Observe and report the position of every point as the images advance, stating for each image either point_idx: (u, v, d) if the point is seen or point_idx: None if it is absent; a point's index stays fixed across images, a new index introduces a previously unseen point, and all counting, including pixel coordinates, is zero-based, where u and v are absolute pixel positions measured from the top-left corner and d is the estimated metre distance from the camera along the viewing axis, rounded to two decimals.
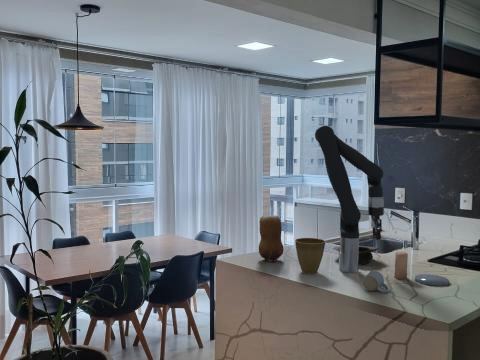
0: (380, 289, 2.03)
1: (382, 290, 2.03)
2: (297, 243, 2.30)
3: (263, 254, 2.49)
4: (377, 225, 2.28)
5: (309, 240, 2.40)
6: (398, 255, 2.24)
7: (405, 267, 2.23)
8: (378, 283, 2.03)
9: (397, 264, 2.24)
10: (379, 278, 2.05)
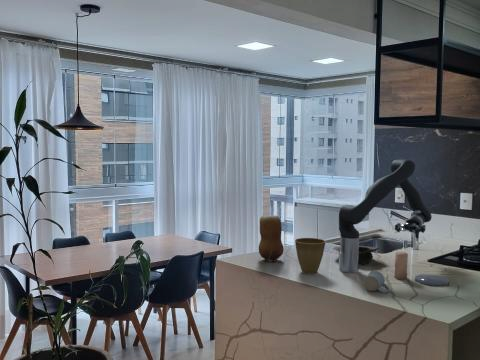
0: (381, 289, 2.03)
1: (383, 290, 2.03)
2: (297, 243, 2.30)
3: (263, 254, 2.49)
4: (424, 227, 2.36)
5: (309, 240, 2.40)
6: (398, 255, 2.24)
7: (405, 267, 2.23)
8: (379, 283, 2.03)
9: (397, 264, 2.24)
10: (380, 278, 2.05)
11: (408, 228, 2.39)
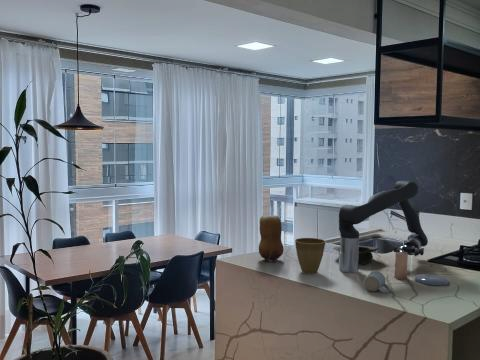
0: (381, 289, 2.03)
1: (383, 290, 2.03)
2: (297, 243, 2.30)
3: (263, 254, 2.49)
4: (423, 250, 2.38)
5: (309, 240, 2.40)
6: (398, 255, 2.24)
7: (405, 267, 2.23)
8: (379, 283, 2.03)
9: (397, 264, 2.24)
10: (380, 278, 2.05)
11: (407, 250, 2.41)
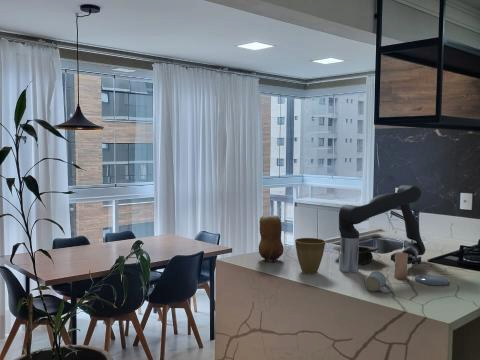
0: (382, 289, 2.02)
1: (384, 290, 2.02)
2: (297, 243, 2.30)
3: (263, 254, 2.49)
4: (420, 258, 2.34)
5: (309, 240, 2.40)
6: (398, 255, 2.24)
7: (405, 267, 2.23)
8: (380, 283, 2.03)
9: (397, 264, 2.24)
10: (381, 278, 2.05)
11: None
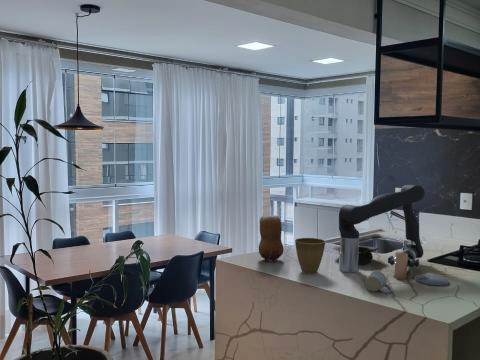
0: (383, 290, 2.02)
1: (385, 291, 2.02)
2: (297, 243, 2.30)
3: (263, 254, 2.49)
4: (418, 261, 2.28)
5: (309, 240, 2.40)
6: (398, 255, 2.24)
7: (405, 267, 2.23)
8: (381, 284, 2.03)
9: (397, 264, 2.24)
10: (382, 279, 2.05)
11: None
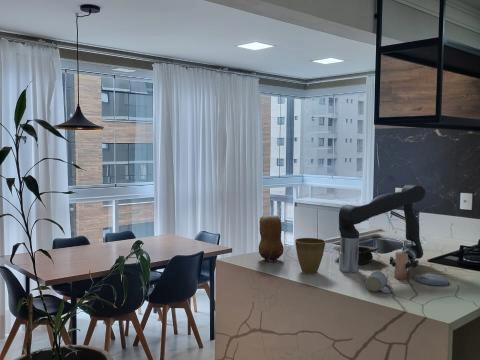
0: (383, 290, 2.02)
1: (385, 291, 2.02)
2: (297, 243, 2.30)
3: (263, 254, 2.49)
4: (416, 262, 2.27)
5: (309, 240, 2.40)
6: (398, 255, 2.24)
7: (405, 267, 2.23)
8: (381, 284, 2.03)
9: (397, 264, 2.24)
10: (382, 279, 2.05)
11: None
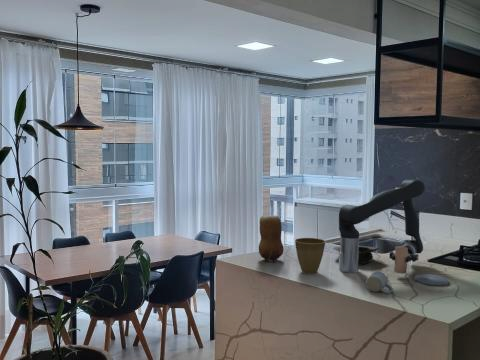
0: (384, 290, 2.02)
1: (386, 291, 2.02)
2: (297, 243, 2.30)
3: (263, 254, 2.49)
4: (416, 256, 2.26)
5: (309, 240, 2.40)
6: (398, 249, 2.23)
7: (405, 261, 2.23)
8: (382, 284, 2.02)
9: (397, 258, 2.24)
10: (383, 279, 2.04)
11: None
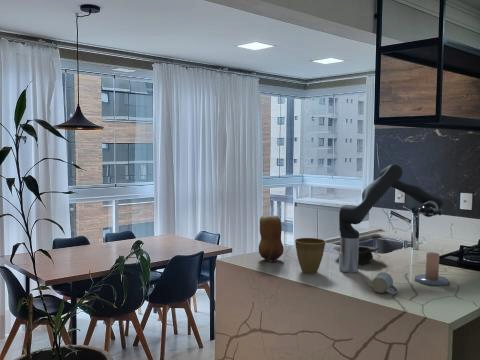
0: (389, 291, 2.01)
1: (391, 292, 2.00)
2: (297, 243, 2.30)
3: (263, 254, 2.49)
4: None
5: (309, 240, 2.40)
6: (430, 255, 2.19)
7: (437, 268, 2.19)
8: (387, 285, 2.01)
9: (429, 265, 2.19)
10: (388, 280, 2.03)
11: (425, 211, 2.42)
